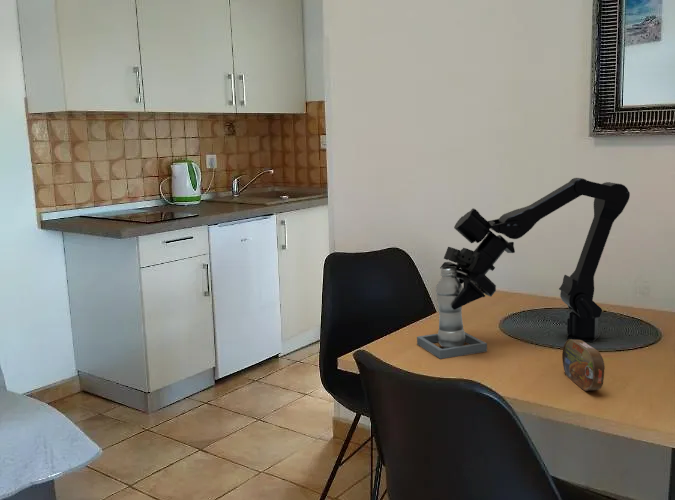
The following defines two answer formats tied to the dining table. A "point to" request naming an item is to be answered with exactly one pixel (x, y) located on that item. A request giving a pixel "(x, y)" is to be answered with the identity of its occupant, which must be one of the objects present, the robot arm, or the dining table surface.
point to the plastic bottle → (449, 309)
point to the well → (474, 347)
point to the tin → (583, 364)
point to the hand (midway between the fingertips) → (445, 304)
